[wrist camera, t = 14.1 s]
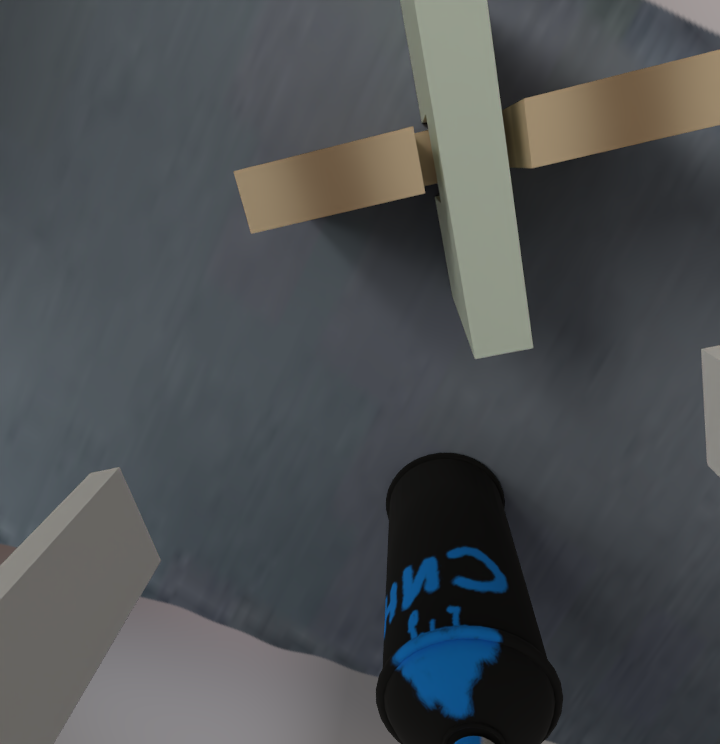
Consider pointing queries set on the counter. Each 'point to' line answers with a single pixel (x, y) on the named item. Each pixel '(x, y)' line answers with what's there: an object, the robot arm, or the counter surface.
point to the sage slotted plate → (470, 169)
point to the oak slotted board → (522, 133)
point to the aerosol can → (459, 615)
